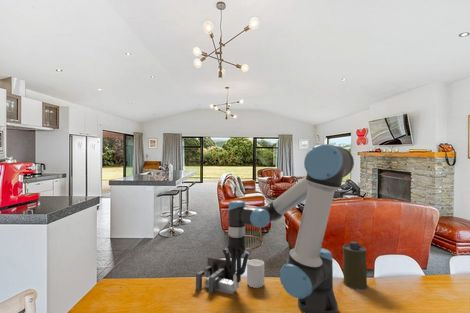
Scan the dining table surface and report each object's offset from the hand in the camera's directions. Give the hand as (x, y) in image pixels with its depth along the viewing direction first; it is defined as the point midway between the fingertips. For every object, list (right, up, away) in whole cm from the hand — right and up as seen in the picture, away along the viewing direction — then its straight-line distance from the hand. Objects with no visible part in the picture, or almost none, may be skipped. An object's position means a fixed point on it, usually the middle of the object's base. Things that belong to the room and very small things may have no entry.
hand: (236, 288), depth 107 cm
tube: (-7, -2, +3) cm, 8 cm away
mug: (+9, -3, +10) cm, 14 cm away
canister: (+58, -3, +9) cm, 58 cm away
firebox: (-11, -2, +7) cm, 13 cm away
